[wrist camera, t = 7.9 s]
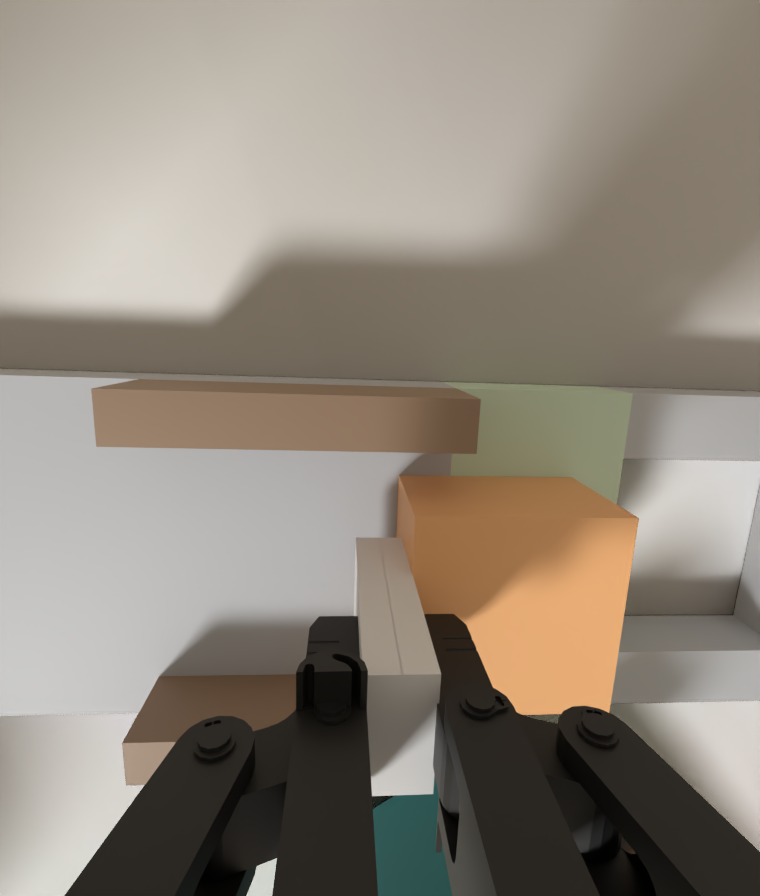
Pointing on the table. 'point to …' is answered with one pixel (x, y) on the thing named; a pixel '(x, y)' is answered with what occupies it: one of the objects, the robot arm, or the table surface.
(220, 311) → the table surface
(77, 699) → the deck
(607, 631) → the block
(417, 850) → the teal l-shaped bracket
